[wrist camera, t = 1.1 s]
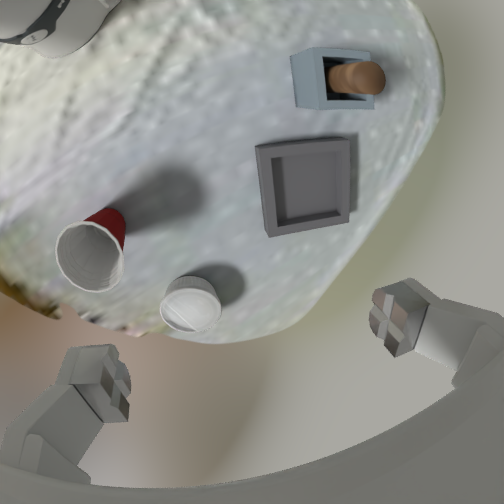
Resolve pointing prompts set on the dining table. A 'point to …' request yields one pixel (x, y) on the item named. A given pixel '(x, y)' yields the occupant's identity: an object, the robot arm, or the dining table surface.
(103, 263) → the plastic cup
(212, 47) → the dining table surface
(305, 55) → the grey square bin
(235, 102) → the dining table surface
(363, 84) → the walnut dowel
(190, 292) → the ramekin
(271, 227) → the tray
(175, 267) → the dining table surface
